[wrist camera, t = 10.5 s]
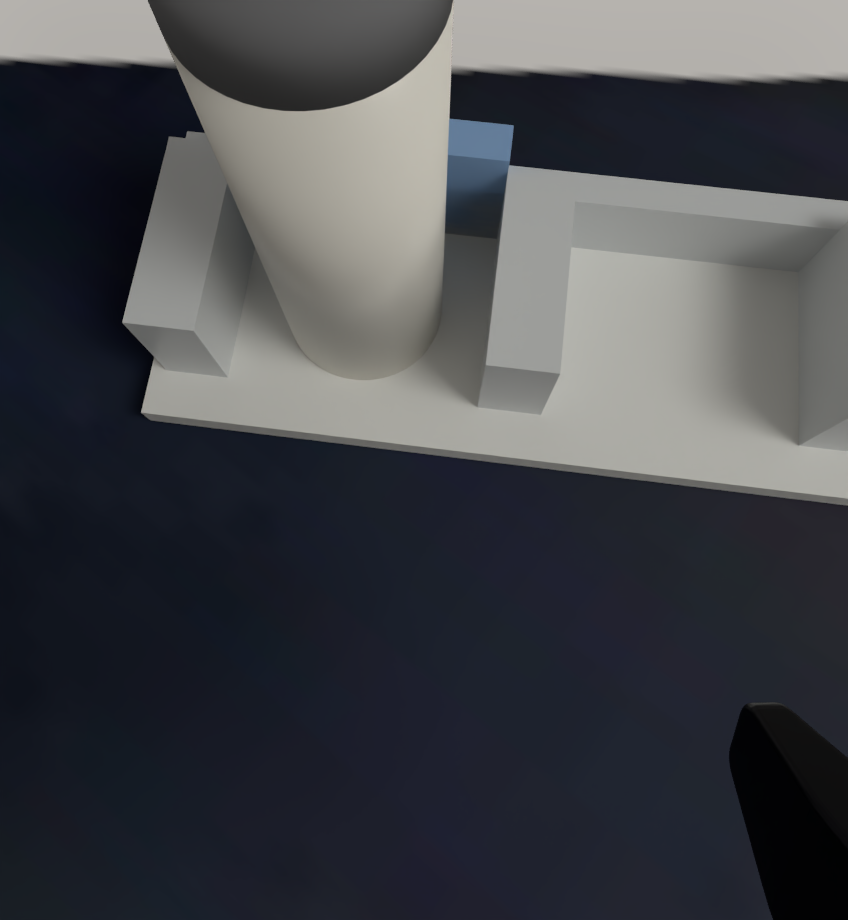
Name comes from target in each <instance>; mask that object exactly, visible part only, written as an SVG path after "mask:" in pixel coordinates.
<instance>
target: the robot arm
mask: <svg viewBox="0 0 848 920" xmlns="http://www.w3.org/2000/svg"><path fill="white" fill-rule="evenodd" d="M729 763H730V769H731V773H732V777H733V781H734V784H735V788H736V792H737V795H738V799H739V802H740V806H741V810H742V813H743V817H744V821H745V824H746V828H747V832H748V835H749V839H750V842H751V846H752V850H753V853H754V857H755V861H756V864H757V868H758V872H759V875H760V879H761V883H762V886H763V889H764V893H765V896H766V899H767V903H768V906H769V909H770V912H771V915H772V918H773V920H848V758H847V757H846V756H845V755H843V754H842V753H841V752H840V751H839V750H838V749H836V748H835V747H834V746H833V745H832V744H830V743H829V742H828V741H827V740H826V739H825V738H823V737H822V736H821V735H820V734H819V733H818V732H816V731H815V730H814V729H813V728H812V727H810V726H809V725H808V724H807V723H806V722H805V721H803V720H802V719H801V718H800V717H799V716H798V715H796V714H795V713H794V712H793V711H792V710H790V709H789V708H788V707H786V706H784V705H783V704H780V703H749V704H746V705H745V706H744V707H743V708H742V710H741V712H740V716H739V719H738V722H737V726H736V729H735V733H734V736H733V739H732V743H731V746H730V751H729Z"/></svg>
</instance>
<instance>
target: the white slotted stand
mask: <svg viewBox="0 0 848 920" xmlns="http://www.w3.org/2000/svg"><path fill="white" fill-rule="evenodd" d="M513 128H514V125H504V124H495V123H485V122H475V121H466V120H456V119H449V137H448V163H447V188H446V214H445V239H444V265H443V290H442V315H441V321H440V325H439V329H438V332H437V334H436V336H435V338H434V340H433V342H432V344H431V345H430V347H429V348H428V350H427V351H426V352H425V353H424V354H423V355H422V357H420V358H419V359H418V360H417V361H416V362H415V363H414V364H412V365H411V366H409V367H408V368H406V369H404V370H402V371H400V372H399V373H397V374H394V375H391V376H388V377H384V378H380V379H374V380H353V379H347V378H343V377H339V376H336V375H334V374H331V373H329V372H327V371H325V370H323V369H322V368H320V367H318V366H317V365H316V364H315V363H313V362H312V361H311V360H310V359H309V358H308V357H307V356H306V355H305V354H304V352H303V351H302V350H301V348H300V347H299V345H298V344H297V342H296V340H295V338H294V336H293V333H292V331H291V329H290V326H289V324H288V322H287V320H286V317H285V315H284V313H283V310H282V308H281V306H280V303H279V301H278V299H277V297H276V294H275V292H274V290H273V287H272V285H271V283H270V280H269V278H268V276H267V274H266V271H265V269H264V267H263V264H262V262H261V260H260V257H259V255H258V253H257V251H256V248H255V246H254V244H253V241H252V239H251V237H250V234H249V232H248V230H247V228H246V225H245V223H244V221H243V218H242V216H241V214H240V211H239V209H238V207H237V205H236V202H235V200H234V198H233V195H232V193H231V191H230V188H229V186H228V184H227V182H226V179H225V177H224V175H223V172H222V170H221V168H220V165H219V163H218V161H217V159H216V156H215V154H214V152H213V149H212V147H211V145H210V142H209V140H208V138H207V136H206V133H198V132H189V131H187V135H186V138H178V137H169V140H168V144H167V148H166V151H165V155H164V159H163V163H162V167H161V171H160V175H159V179H158V183H157V187H156V191H155V195H154V199H153V203H152V207H151V211H150V214H149V218H148V222H147V226H146V230H145V234H144V238H143V242H142V246H141V250H140V254H139V258H138V262H137V266H136V270H135V274H134V277H133V281H132V285H131V289H130V293H129V297H128V301H127V305H126V309H125V313H124V317H123V321H122V323H123V324H124V325H125V326H126V327H127V328H128V329H129V330H130V332H131V333H132V334H133V335H134V336H135V337H136V338H137V339H138V340H139V341H140V342H141V343H142V344H143V345H144V346H145V348H146V349H147V350H148V351H149V352H150V353H151V354H152V355H153V356H154V360H153V364H152V368H151V373H150V377H149V381H148V385H147V389H146V394H145V398H144V402H143V406H142V410H141V413H142V414H143V415H144V416H146V417H147V418H148V419H149V420H151V421H160V422H168V423H176V424H184V425H192V426H201V427H209V428H217V429H225V430H233V431H241V432H250V433H258V434H266V435H274V436H282V437H291V438H299V439H307V440H315V441H323V442H332V443H340V444H348V445H356V446H364V447H372V448H381V449H389V450H397V451H405V452H413V453H422V454H430V455H438V456H446V457H454V458H463V459H471V460H479V461H487V462H495V463H503V464H512V465H520V466H528V467H536V468H544V469H553V470H561V471H569V472H577V473H585V474H594V475H602V476H610V477H618V478H626V479H634V480H643V481H651V482H659V483H667V484H675V485H684V486H692V487H700V488H708V489H716V490H724V491H733V492H741V493H749V494H757V495H765V496H774V497H782V498H790V499H798V500H806V501H815V502H823V503H831V504H839V505H847V506H848V201H839V200H829V199H820V198H811V197H801V196H792V195H782V194H773V193H764V192H754V191H745V190H735V189H726V188H716V187H707V186H698V185H688V184H679V183H669V182H660V181H651V180H641V179H632V178H622V177H613V176H603V175H594V174H585V173H575V172H566V171H556V170H547V169H537V168H528V167H519V166H509V162H510V154H511V145H512V136H513Z"/></svg>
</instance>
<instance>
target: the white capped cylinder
mask: <svg viewBox="0 0 848 920" xmlns="http://www.w3.org/2000/svg"><path fill="white" fill-rule="evenodd" d="M148 2H149V4H150V7H151V9H152V11H153V14H154V16H155V18H156V21H157V23H158V25H159V27H160V30H161V32H162V34H163V36H164V39H165V41H166V43H167V46H168V48H169V50H170V53H171V55H172V57H173V60H174V62H175V64H176V67H177V69H178V71H179V73H180V76H181V78H182V80H183V83H184V85H185V87H186V90H187V92H188V94H189V96H190V99H191V101H192V103H193V106H194V108H195V110H196V113H197V115H198V117H199V119H200V122H201V124H202V126H203V129H204V131H205V133H206V136H207V138H208V140H209V142H210V145H211V147H212V149H213V152H214V154H215V156H216V159H217V161H218V163H219V165H220V168H221V170H222V172H223V175H224V177H225V179H226V182H227V184H228V186H229V188H230V191H231V193H232V195H233V198H234V200H235V202H236V205H237V207H238V209H239V211H240V214H241V216H242V218H243V221H244V223H245V225H246V228H247V230H248V232H249V234H250V237H251V239H252V241H253V244H254V246H255V248H256V251H257V253H258V255H259V257H260V260H261V262H262V264H263V267H264V269H265V271H266V274H267V276H268V278H269V280H270V283H271V285H272V287H273V290H274V292H275V294H276V297H277V299H278V301H279V303H280V306H281V308H282V310H283V313H284V315H285V317H286V320H287V322H288V324H289V326H290V329H291V331H292V333H293V336H294V338H295V340H296V342H297V344H298V345H299V347H300V348H301V350H302V351H303V352H304V354H305V355H306V356H307V357H308V358H309V359H310V360H311V361H312V362H313V363H315V364H316V365H317V366H318V367H320V368H322V369H323V370H325V371H327V372H329V373H331V374H334V375H336V376H339V377H343V378H347V379H353V380H374V379H380V378H384V377H388V376H391V375H394V374H397V373H399V372H400V371H402V370H404V369H406V368H408V367H409V366H411V365H412V364H414V363H415V362H416V361H417V360H418V359H419V358H420V357H422V355H423V354H424V353H425V352H426V351H427V350H428V348H429V347H430V345H431V344H432V342H433V340H434V338H435V336H436V334H437V332H438V329H439V325H440V321H441V315H442V290H443V265H444V239H445V214H446V188H447V163H448V137H449V112H450V86H451V58H452V34H453V10H454V7H453V6H454V0H148Z"/></svg>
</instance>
